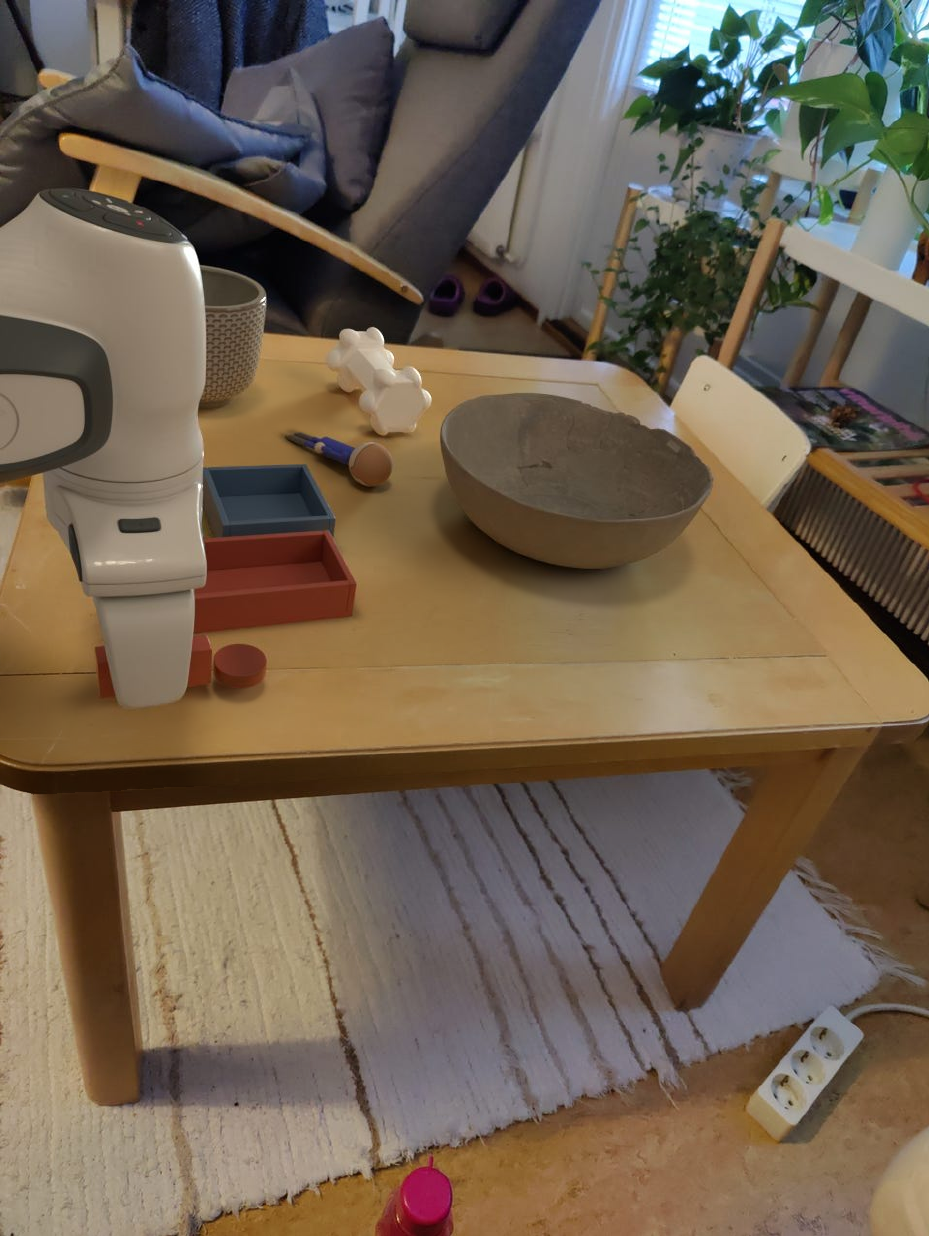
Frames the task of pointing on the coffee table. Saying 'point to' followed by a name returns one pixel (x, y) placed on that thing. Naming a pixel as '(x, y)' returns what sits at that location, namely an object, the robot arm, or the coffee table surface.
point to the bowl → (570, 479)
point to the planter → (231, 334)
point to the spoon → (203, 666)
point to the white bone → (378, 381)
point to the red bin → (272, 581)
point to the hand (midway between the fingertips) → (130, 663)
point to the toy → (352, 457)
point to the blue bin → (264, 500)
